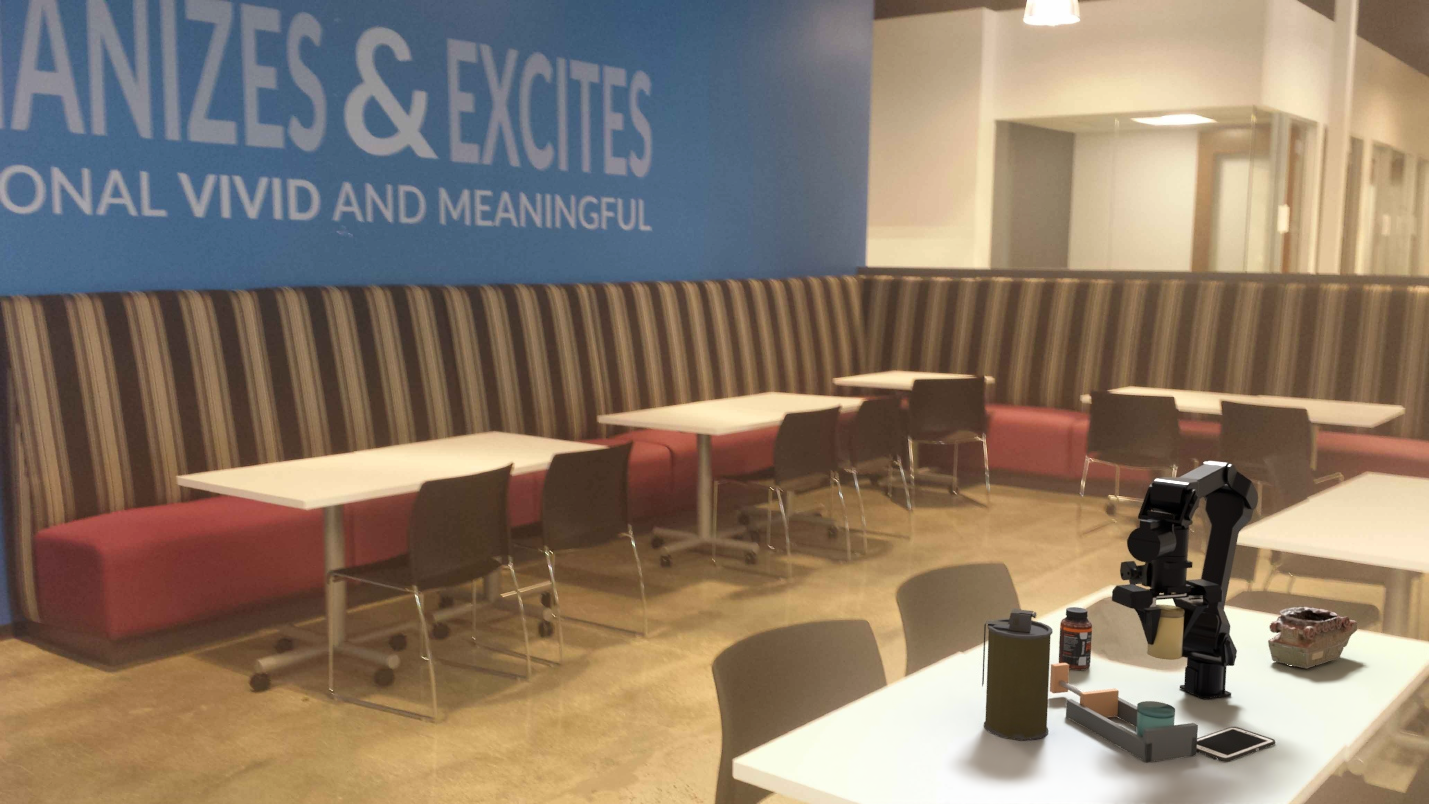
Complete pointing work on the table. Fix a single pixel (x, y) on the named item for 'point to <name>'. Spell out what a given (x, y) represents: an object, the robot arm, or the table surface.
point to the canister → (1017, 676)
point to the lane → (1150, 747)
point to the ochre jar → (1168, 634)
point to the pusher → (1094, 700)
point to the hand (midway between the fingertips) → (1164, 642)
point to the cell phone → (1232, 743)
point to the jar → (1153, 715)
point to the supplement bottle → (1075, 639)
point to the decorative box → (1309, 636)
